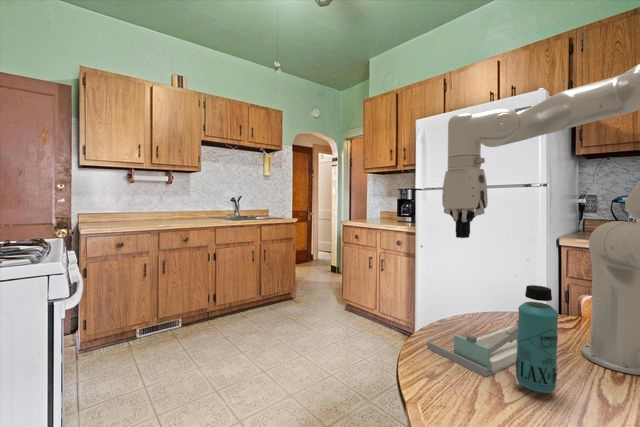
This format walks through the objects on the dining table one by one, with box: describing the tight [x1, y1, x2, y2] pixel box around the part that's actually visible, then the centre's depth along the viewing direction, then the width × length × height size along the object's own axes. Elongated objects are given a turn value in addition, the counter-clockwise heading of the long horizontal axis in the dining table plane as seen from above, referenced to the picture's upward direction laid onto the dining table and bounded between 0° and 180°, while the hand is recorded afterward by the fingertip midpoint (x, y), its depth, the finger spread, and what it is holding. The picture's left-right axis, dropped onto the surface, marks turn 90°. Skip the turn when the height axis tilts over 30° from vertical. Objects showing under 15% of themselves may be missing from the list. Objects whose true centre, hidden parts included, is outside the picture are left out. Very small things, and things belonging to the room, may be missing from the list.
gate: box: [453, 334, 490, 372], centre depth 69 cm, size 8×1×6 cm, turn 30°
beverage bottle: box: [515, 284, 559, 394], centre depth 59 cm, size 6×7×20 cm
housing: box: [426, 325, 517, 378], centre depth 78 cm, size 15×26×2 cm, turn 120°
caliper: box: [486, 319, 518, 354], centre depth 74 cm, size 20×1×6 cm, turn 120°
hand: (462, 237), depth 80 cm, fingers closed
